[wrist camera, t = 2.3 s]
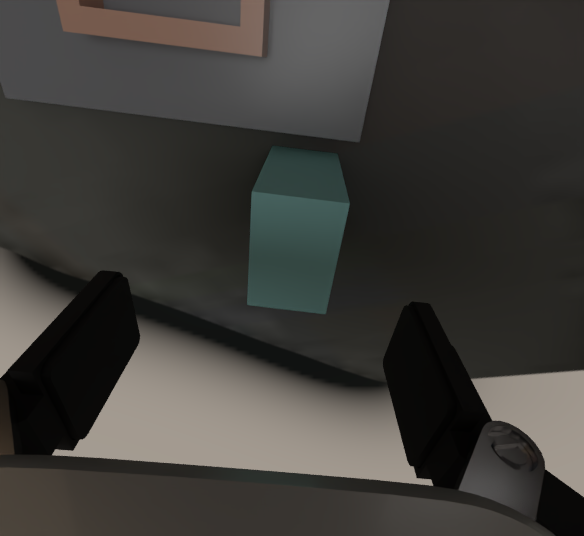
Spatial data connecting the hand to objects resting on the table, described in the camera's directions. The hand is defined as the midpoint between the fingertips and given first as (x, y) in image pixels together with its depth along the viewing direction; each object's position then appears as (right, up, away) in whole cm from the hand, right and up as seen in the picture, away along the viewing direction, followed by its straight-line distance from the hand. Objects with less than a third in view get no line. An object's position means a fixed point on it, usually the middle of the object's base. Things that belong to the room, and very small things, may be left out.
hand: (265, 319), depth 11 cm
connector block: (+1, +7, +10) cm, 12 cm away
